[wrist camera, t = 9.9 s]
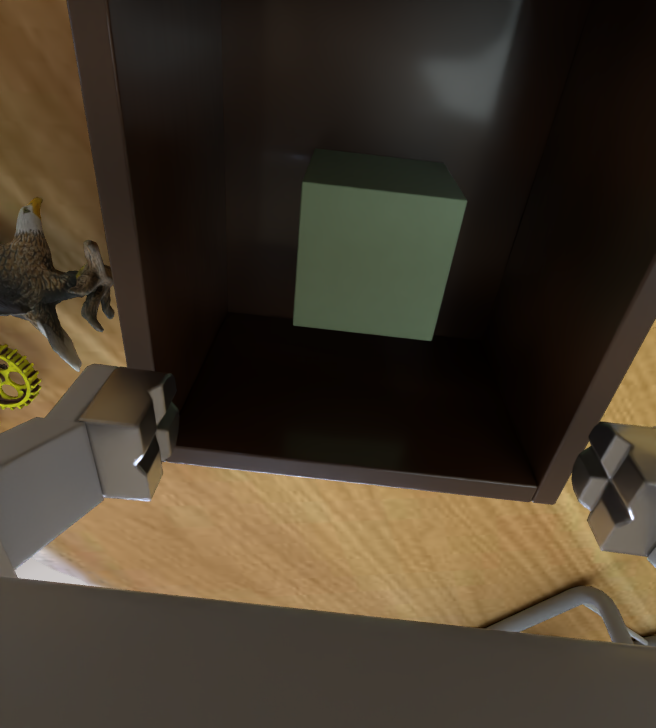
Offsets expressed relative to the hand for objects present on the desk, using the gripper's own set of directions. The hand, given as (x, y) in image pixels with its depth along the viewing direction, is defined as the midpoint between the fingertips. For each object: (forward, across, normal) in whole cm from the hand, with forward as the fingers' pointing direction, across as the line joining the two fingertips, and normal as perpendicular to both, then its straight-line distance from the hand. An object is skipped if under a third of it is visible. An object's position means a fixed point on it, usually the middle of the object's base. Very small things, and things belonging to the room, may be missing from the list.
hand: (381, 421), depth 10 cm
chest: (+14, 0, -2) cm, 14 cm away
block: (+13, 0, 0) cm, 13 cm away
